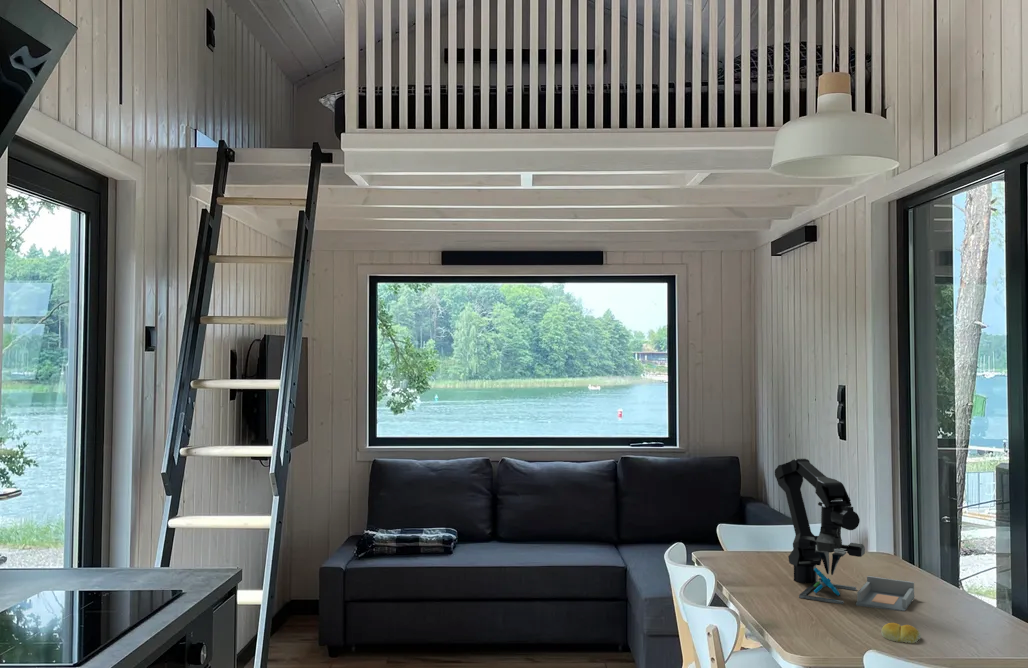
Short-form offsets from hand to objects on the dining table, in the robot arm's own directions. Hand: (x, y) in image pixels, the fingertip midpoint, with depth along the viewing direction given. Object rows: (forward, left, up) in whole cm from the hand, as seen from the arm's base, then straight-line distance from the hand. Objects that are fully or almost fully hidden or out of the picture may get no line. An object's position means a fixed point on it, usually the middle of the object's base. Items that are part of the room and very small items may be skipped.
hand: (830, 574), depth 256 cm
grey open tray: (+16, 0, -6) cm, 17 cm away
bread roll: (+23, -37, -6) cm, 44 cm away
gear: (+1, 0, -7) cm, 7 cm away
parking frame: (+1, 0, -6) cm, 6 cm away
